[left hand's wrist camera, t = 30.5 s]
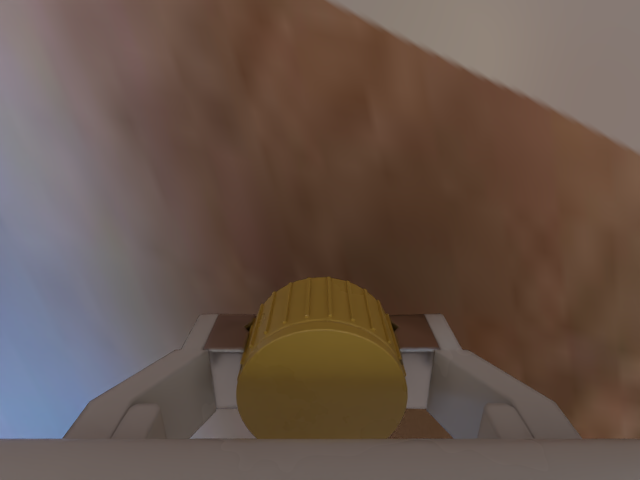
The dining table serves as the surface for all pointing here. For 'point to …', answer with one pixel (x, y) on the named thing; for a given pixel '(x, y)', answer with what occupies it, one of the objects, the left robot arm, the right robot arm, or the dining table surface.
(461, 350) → the left robot arm
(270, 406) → the cap
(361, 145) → the dining table surface
